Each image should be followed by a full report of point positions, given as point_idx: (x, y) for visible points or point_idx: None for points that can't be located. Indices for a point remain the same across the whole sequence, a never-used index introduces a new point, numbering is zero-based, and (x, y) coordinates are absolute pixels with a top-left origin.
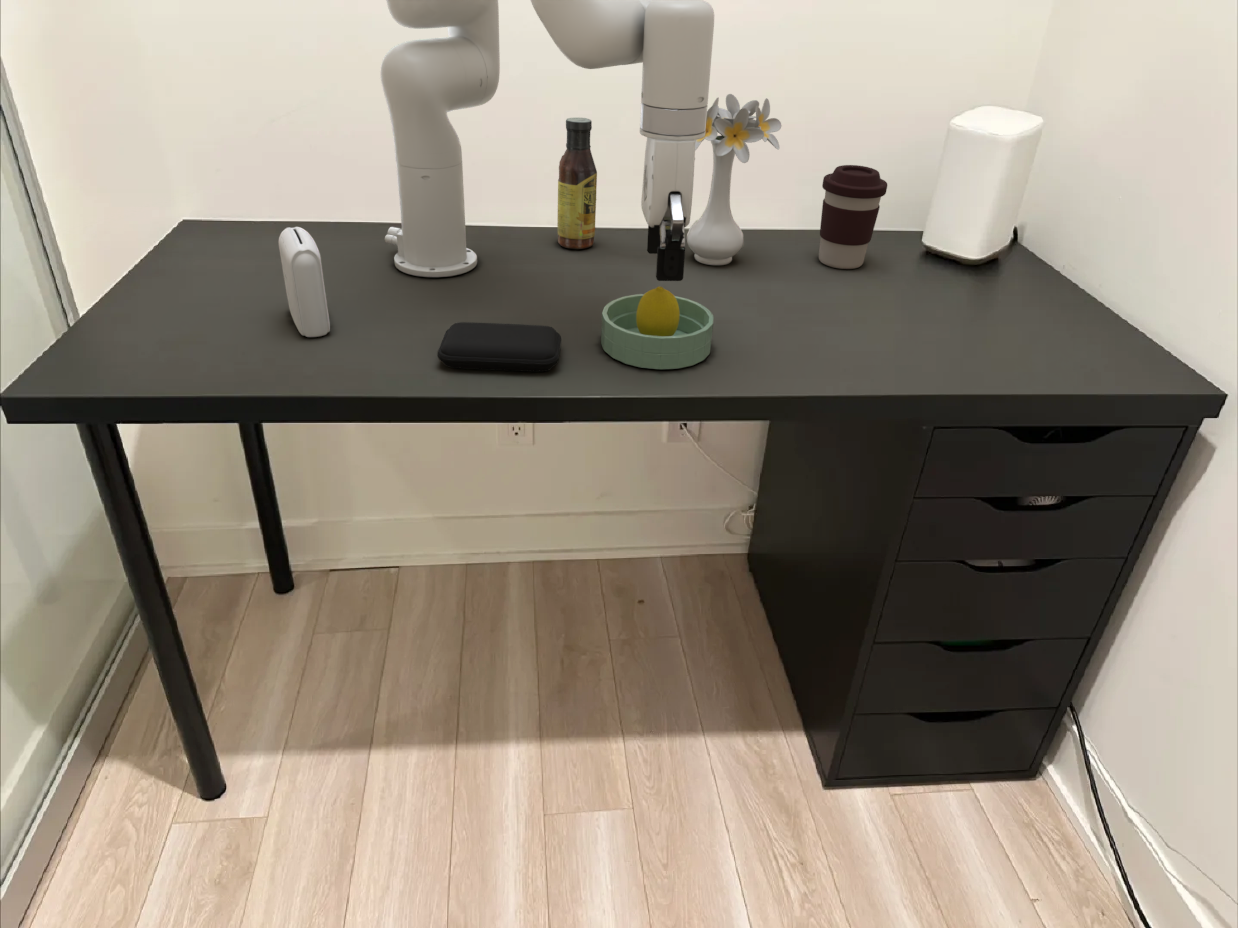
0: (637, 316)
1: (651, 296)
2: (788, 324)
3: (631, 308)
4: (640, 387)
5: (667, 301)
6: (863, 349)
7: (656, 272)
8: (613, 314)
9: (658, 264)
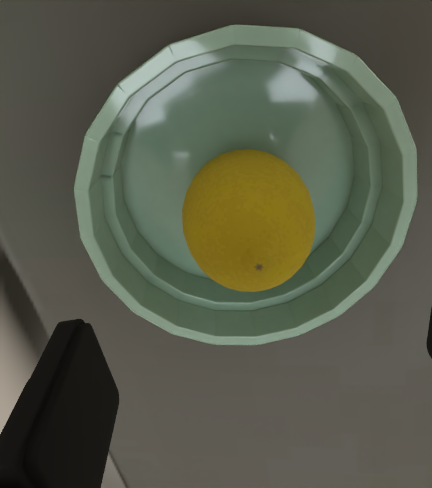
0: (225, 159)
1: (224, 229)
2: (369, 407)
3: (373, 121)
4: (6, 161)
5: (211, 274)
6: (275, 480)
7: (56, 339)
8: (320, 63)
9: (34, 380)
